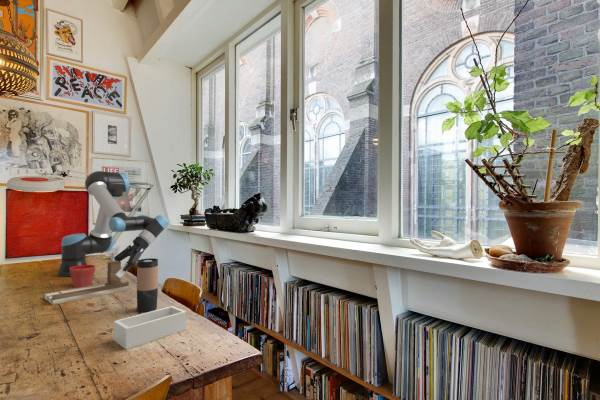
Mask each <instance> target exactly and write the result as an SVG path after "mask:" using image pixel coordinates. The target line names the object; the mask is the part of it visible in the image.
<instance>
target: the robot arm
mask: <svg viewBox="0 0 600 400" xmlns="http://www.w3.org/2000/svg"><path fill="white" fill-rule="evenodd" d="M130 185H131V184H130V180H129V177H128V176H127V174H125V173H123V172H116V171H115V172H113V171H103V170H97V171H94V172H91V173H90V174H88V176H87V177H86V178H85V181H84V187H85V189H86V192H87V193H88V194H89V195H91V196H93V198H94V199H95V200H96V202H97V203H98V205H99V209H98V213H97V217H96V220H95V224H94V228H93V229H92V230H90V232H89V235H88V234H87V235H86V233H72V234H69V235H65V236H63V237H62V238H61V239H62V240H61V262H60V265H59V268H58V270H57V276H58V277H67V278H68V277H71V274H70V268H71V267H74V266H79V265H88V264H87V261H86V255H94V254H103V253H106V252H107V253H108V252H109V251H111V250H112V248H113V246H114V244H115V241H114V239H115V238H114V236H113V234H112V232H113V233H123V232H132V231H133V232H134V231H141V232H140V233H139V234H138V235H137V236H136V237H135V238H134V239H133V240H132V243H133V245H131V244H129V245H127V247H126V248H125V249H123V250H122V251H120V252H119V253H117V255H115V256H114V257H113V261H120V262H122V261H123V260H125V259H126V258H128V257H129V258H128V260H127V261H126V262H125V263H124V265H122V266H121V269H120V270H119V271H118V272H117V273H116V274H115V275H117V276H118V277H119V278H121V279H122V277H123V275H124V274H125V273H127V271H128V270H129V269H130V268H132V267H135V266H136V265H137V261H138V260H140V258H141V256H142V254H143V253H144V252H145V251H146V249H147V248H148V247H150V245H151V244H152V243H153V242H155V239H157V238H158V237H159V236H160V235H161V234H162V233H163V232H164V230H165V229H166V228H167V226H168V225H169V221H168V219H167V218H166V217H164V216H163V215H161V214H159V215H158V214H157V215H156V216H155V217H151V216H148V215H144V214H140V215H139V214H138V215H137V216H127V214H126V213H125V212H124V211H123V209H122V208H121V206H120V205H119V204H118V203H119V199H120V198H122V197H123V195H124V193H127V192H128V191H129V189H130ZM104 272H105V273H107V267H106V268H104Z"/></svg>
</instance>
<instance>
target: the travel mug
mask: <svg viewBox="0 0 600 400" xmlns="http://www.w3.org/2000/svg"><path fill="white" fill-rule="evenodd" d="M136 265H137V266H136V267H137V268H136V269H137V270H136V271H137V272H136V310H137V312H138V313H140V314H143V313H147V312H151V311H155V310H158V309H157V308H158V293H159V291H158V290H159V259H158V258H152V257H151V258H150V257H149V258H142V259H139V260H138V261H137V263H136Z"/></svg>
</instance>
